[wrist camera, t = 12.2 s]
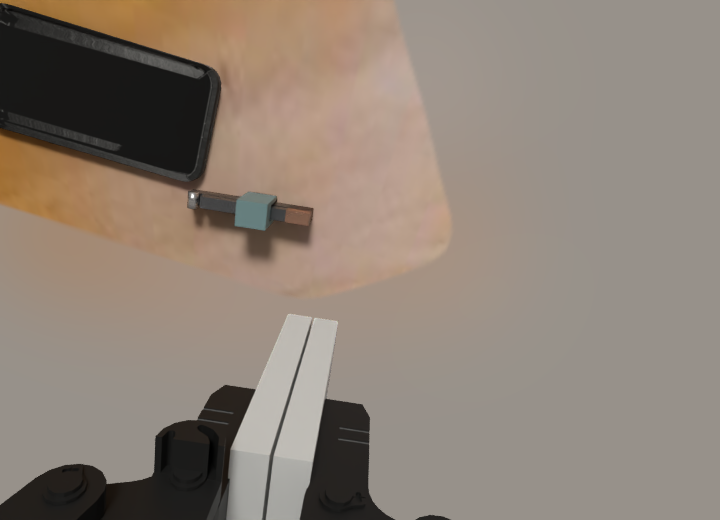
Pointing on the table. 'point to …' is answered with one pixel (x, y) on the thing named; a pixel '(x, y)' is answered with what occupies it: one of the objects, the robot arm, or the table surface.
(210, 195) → the arm
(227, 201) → the bar
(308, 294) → the table surface
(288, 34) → the table surface
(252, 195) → the teal matte cube
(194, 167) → the phone
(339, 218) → the table surface
